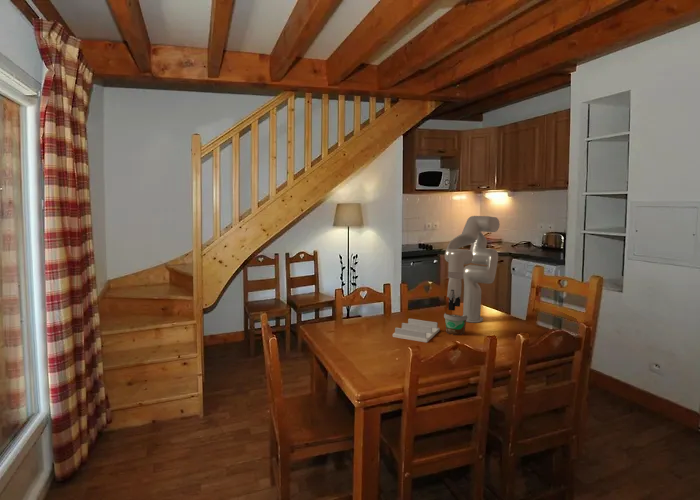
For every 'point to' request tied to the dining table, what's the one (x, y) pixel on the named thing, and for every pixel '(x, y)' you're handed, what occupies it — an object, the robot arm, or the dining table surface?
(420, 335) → the rack
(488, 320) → the dining table surface
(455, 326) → the food container
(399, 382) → the dining table surface
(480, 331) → the dining table surface
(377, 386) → the dining table surface
